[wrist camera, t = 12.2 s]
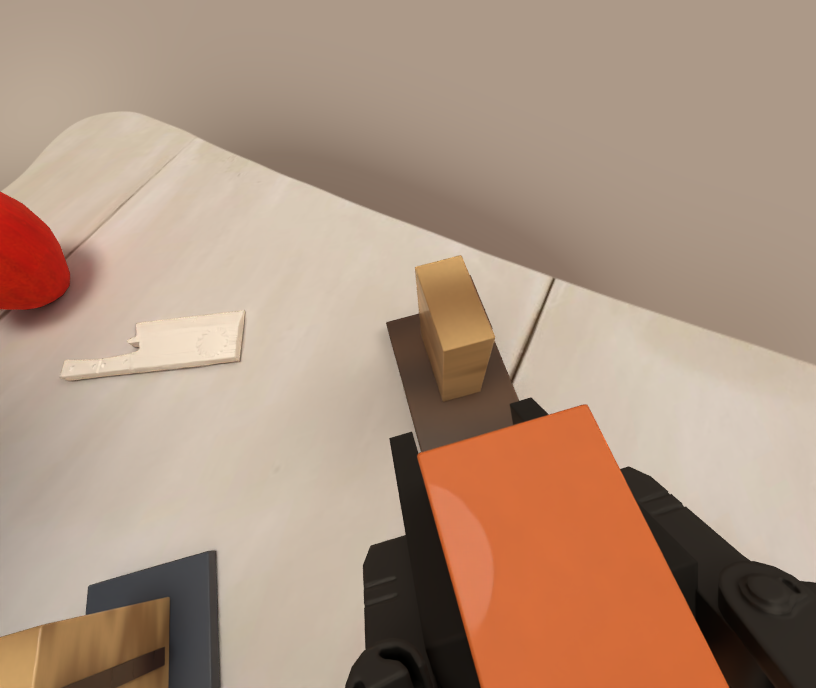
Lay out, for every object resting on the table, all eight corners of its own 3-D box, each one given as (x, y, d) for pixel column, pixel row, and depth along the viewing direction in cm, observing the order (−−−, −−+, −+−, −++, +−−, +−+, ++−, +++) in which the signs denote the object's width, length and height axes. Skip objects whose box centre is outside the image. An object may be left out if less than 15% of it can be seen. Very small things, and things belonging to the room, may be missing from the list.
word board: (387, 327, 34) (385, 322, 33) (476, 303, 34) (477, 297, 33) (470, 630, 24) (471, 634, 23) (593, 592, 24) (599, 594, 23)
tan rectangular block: (420, 334, 32) (414, 266, 24) (459, 324, 32) (466, 253, 24) (442, 402, 29) (443, 351, 21) (484, 390, 29) (501, 335, 21)
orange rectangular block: (431, 498, 14) (415, 453, 6) (516, 473, 15) (604, 397, 7) (489, 702, 12) (584, 1064, 4) (591, 669, 12) (894, 948, 4)
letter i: (123, 609, 25) (-29, 645, 17) (175, 594, 25) (49, 622, 17) (116, 732, 22) (-69, 845, 14) (174, 714, 22) (23, 815, 14)
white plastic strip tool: (85, 329, 36) (75, 323, 35) (246, 312, 35) (240, 305, 34) (67, 381, 33) (55, 376, 32) (239, 363, 33) (233, 357, 32)
